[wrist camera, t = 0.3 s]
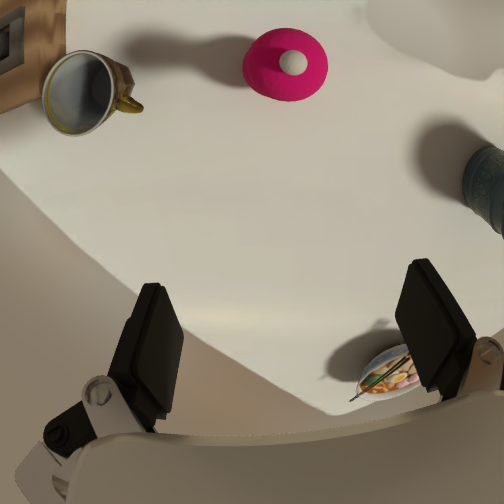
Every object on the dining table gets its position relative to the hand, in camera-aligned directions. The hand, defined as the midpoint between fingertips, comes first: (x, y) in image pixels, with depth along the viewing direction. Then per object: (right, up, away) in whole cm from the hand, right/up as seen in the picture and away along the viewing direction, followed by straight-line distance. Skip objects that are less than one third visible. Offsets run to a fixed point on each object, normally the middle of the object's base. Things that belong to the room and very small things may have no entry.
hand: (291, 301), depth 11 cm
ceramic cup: (-19, +24, +21) cm, 37 cm away
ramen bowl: (+34, -24, +55) cm, 69 cm away
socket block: (-35, +34, +14) cm, 50 cm away
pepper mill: (+1, +25, +21) cm, 32 cm away
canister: (+40, +15, +28) cm, 51 cm away
